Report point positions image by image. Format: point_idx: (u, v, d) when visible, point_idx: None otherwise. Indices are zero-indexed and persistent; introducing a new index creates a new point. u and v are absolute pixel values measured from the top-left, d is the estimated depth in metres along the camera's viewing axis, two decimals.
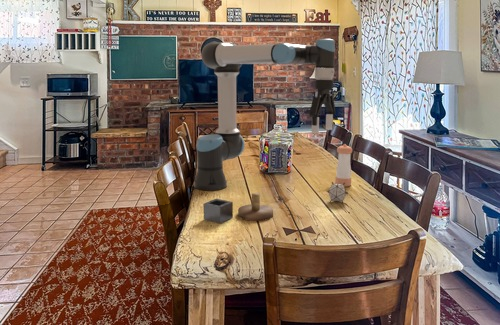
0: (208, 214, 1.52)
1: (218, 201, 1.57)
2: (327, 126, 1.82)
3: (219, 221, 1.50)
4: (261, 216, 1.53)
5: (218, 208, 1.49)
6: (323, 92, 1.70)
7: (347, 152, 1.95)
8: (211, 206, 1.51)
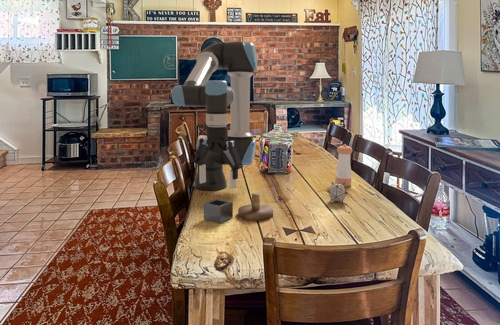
0: (208, 214, 1.52)
1: (218, 201, 1.57)
2: None
3: (219, 221, 1.50)
4: (261, 216, 1.53)
5: (218, 208, 1.49)
6: (209, 140, 1.49)
7: (347, 152, 1.95)
8: (211, 206, 1.51)
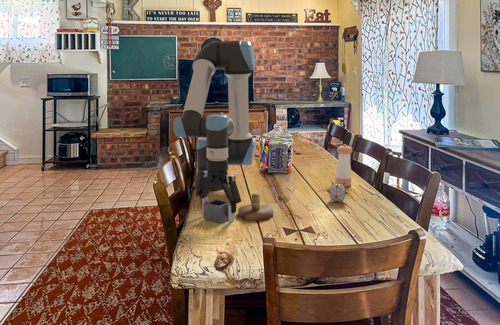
0: (208, 214, 1.52)
1: (218, 201, 1.57)
2: None
3: (219, 221, 1.50)
4: (261, 216, 1.53)
5: (218, 208, 1.49)
6: (209, 172, 1.52)
7: (347, 152, 1.95)
8: (211, 206, 1.51)
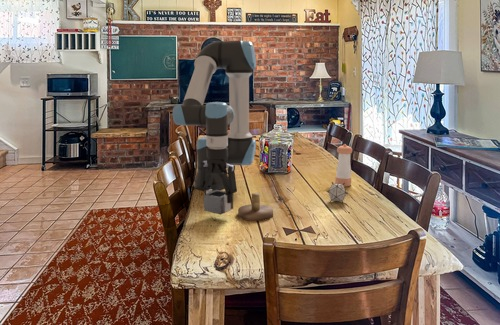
0: (208, 205, 1.52)
1: (218, 192, 1.57)
2: None
3: (219, 212, 1.50)
4: (261, 216, 1.53)
5: (218, 199, 1.49)
6: (209, 160, 1.51)
7: (347, 152, 1.95)
8: (211, 197, 1.51)
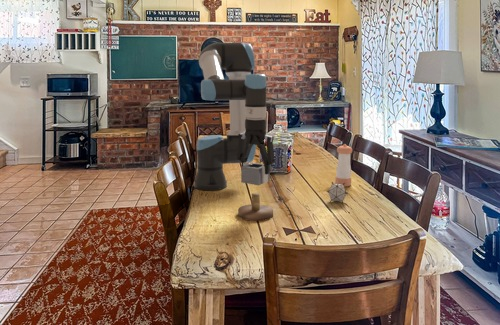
0: (246, 176, 1.54)
1: (255, 165, 1.58)
2: None
3: (257, 183, 1.51)
4: (261, 216, 1.53)
5: (257, 170, 1.51)
6: (247, 132, 1.53)
7: (347, 152, 1.95)
8: (249, 168, 1.52)
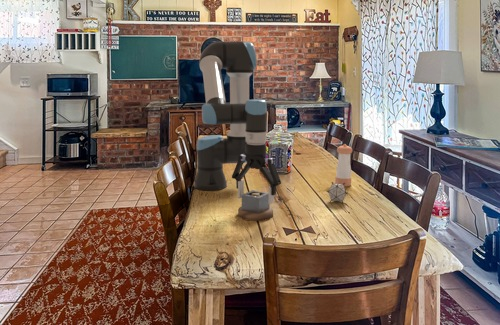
0: (246, 205, 1.56)
1: (255, 192, 1.61)
2: None
3: (258, 212, 1.54)
4: (261, 216, 1.53)
5: (257, 199, 1.53)
6: (248, 157, 1.55)
7: (347, 152, 1.95)
8: (250, 197, 1.55)
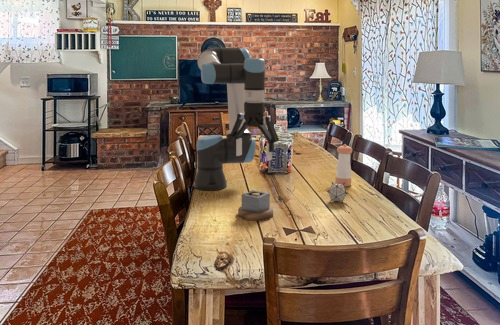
0: (246, 205, 1.56)
1: (255, 192, 1.61)
2: None
3: (258, 212, 1.54)
4: (261, 216, 1.53)
5: (257, 199, 1.53)
6: (246, 115, 1.59)
7: (347, 152, 1.95)
8: (250, 197, 1.55)
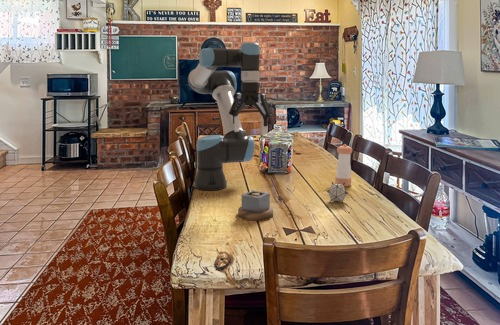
0: (246, 205, 1.56)
1: (255, 192, 1.61)
2: None
3: (258, 212, 1.54)
4: (261, 216, 1.53)
5: (257, 199, 1.53)
6: (243, 94, 1.78)
7: (347, 152, 1.95)
8: (250, 197, 1.55)
